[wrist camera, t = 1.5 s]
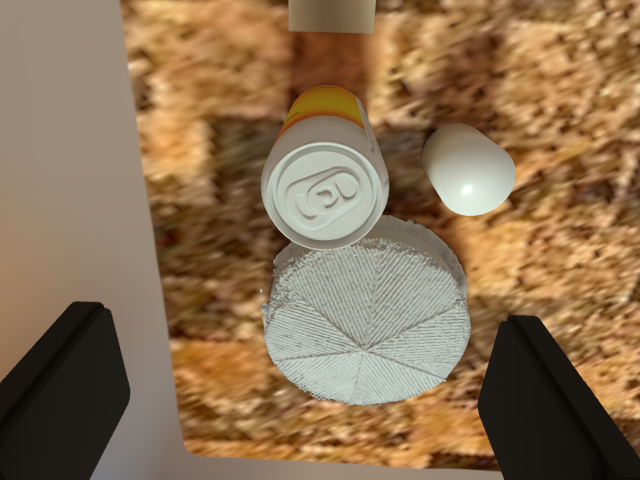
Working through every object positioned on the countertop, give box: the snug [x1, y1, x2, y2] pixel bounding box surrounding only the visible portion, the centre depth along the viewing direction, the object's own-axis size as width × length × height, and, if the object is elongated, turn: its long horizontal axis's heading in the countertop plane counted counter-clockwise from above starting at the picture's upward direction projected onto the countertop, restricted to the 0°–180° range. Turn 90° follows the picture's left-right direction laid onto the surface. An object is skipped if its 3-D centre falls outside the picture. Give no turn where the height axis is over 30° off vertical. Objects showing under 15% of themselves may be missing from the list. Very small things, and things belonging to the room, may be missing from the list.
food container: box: [259, 215, 471, 407], centre depth 38 cm, size 20×20×7 cm
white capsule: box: [421, 123, 516, 216], centre depth 31 cm, size 5×5×6 cm
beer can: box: [261, 85, 389, 250], centre depth 26 cm, size 6×6×15 cm
